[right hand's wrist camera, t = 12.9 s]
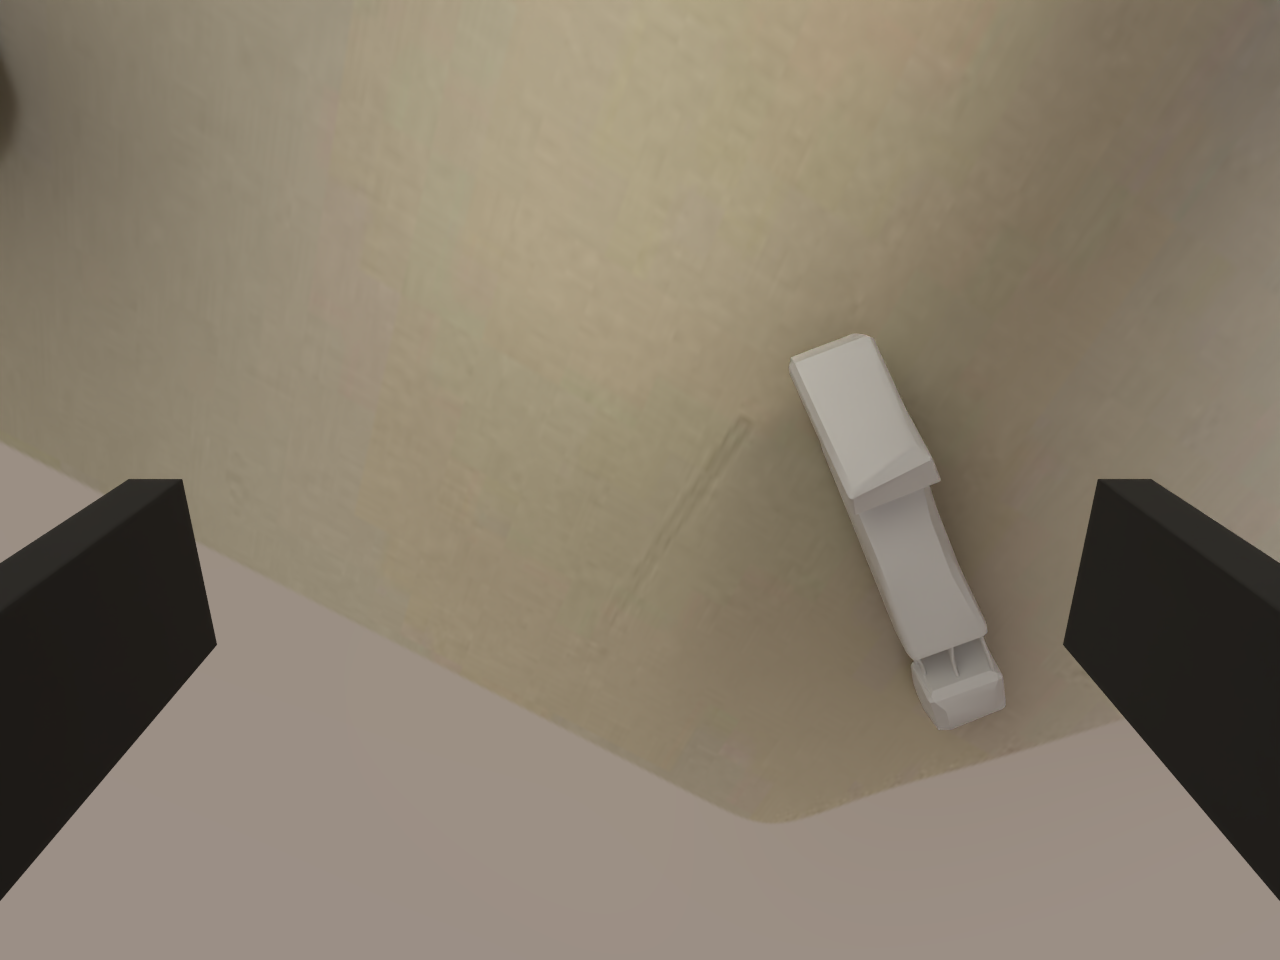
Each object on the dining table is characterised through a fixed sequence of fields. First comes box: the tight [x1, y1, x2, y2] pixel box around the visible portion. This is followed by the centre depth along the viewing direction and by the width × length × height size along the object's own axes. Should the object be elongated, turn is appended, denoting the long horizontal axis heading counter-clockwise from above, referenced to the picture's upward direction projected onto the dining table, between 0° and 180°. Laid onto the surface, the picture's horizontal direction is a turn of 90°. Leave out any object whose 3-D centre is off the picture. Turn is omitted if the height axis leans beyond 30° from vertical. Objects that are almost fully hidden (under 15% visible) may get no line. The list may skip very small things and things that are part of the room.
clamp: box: [789, 333, 1006, 730], centre depth 37 cm, size 20×4×7 cm, turn 25°
